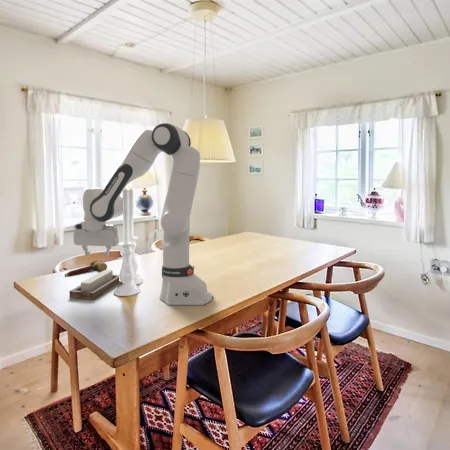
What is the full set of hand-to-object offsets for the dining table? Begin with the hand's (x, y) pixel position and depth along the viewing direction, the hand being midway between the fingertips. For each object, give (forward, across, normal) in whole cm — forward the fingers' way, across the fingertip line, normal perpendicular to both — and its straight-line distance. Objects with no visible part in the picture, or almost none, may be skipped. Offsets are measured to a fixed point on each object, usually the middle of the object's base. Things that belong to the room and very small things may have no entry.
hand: (97, 255), depth 160 cm
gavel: (+16, +22, -23) cm, 35 cm away
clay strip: (+15, +1, 0) cm, 15 cm away
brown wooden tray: (+16, +1, 0) cm, 16 cm away
